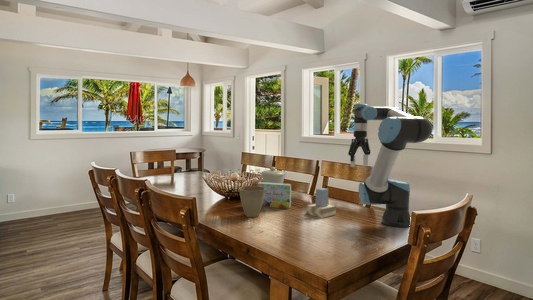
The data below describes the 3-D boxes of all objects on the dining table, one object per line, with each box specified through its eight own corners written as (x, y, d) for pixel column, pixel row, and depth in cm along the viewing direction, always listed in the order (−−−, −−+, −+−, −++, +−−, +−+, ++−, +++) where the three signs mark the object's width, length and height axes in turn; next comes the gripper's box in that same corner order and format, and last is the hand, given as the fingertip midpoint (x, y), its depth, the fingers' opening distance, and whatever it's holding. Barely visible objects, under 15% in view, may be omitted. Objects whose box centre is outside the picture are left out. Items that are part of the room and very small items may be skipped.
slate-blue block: (327, 206, 201) (328, 189, 200) (321, 207, 198) (322, 190, 197) (321, 204, 205) (321, 187, 204) (315, 205, 202) (316, 188, 201)
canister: (256, 196, 246) (257, 167, 244) (264, 192, 263) (265, 164, 261) (280, 198, 240) (281, 169, 238) (287, 193, 257) (288, 166, 256)
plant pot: (234, 214, 199) (235, 186, 198) (257, 211, 206) (258, 185, 205) (245, 220, 186) (245, 191, 185) (269, 217, 193) (269, 189, 192)
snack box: (256, 206, 218) (256, 183, 217) (258, 204, 223) (259, 181, 222) (289, 209, 213) (290, 184, 212) (291, 206, 218) (291, 183, 217)
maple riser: (335, 214, 201) (335, 206, 200) (321, 218, 193) (322, 209, 193) (320, 210, 210) (320, 202, 210) (306, 213, 203) (306, 205, 202)
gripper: (366, 130, 214) (365, 164, 215) (342, 130, 197) (341, 167, 198) (377, 130, 208) (375, 165, 210) (353, 130, 191) (352, 168, 193)
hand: (359, 166), depth 204 cm, fingers open, 13 cm apart
